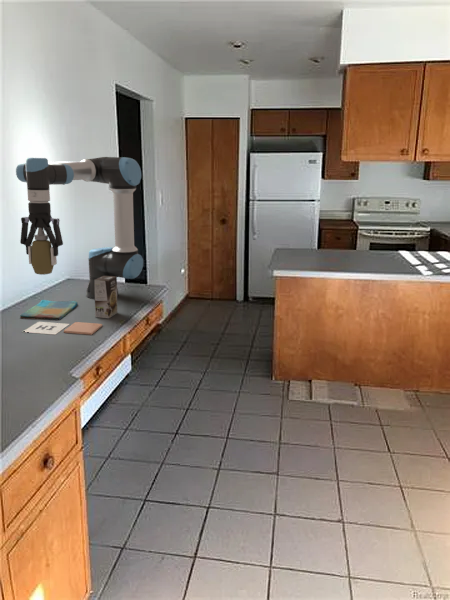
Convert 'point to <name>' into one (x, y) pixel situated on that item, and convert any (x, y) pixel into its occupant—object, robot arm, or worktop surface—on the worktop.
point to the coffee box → (105, 296)
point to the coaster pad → (83, 328)
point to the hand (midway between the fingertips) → (42, 263)
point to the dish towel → (49, 310)
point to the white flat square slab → (46, 328)
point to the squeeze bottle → (41, 253)
